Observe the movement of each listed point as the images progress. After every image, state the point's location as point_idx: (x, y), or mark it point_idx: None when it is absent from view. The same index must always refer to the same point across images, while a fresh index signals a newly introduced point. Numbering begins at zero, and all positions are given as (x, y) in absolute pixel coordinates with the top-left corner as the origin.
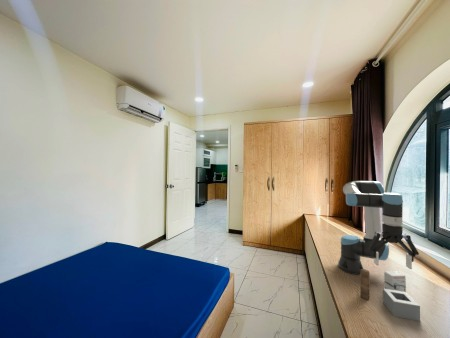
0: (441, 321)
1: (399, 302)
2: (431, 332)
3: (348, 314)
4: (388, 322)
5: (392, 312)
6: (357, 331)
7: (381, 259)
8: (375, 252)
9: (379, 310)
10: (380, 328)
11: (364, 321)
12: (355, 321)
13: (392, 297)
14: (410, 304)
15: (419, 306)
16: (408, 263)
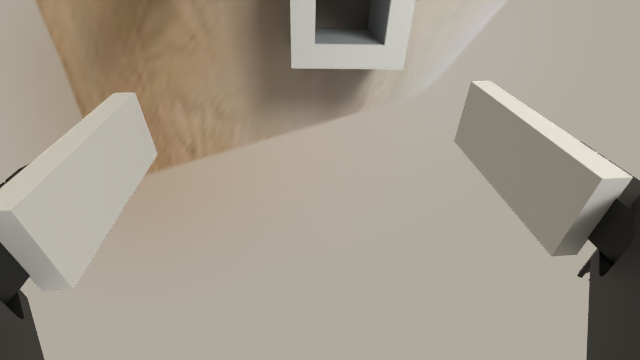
0: (475, 22)
1: (315, 68)
2: (379, 102)
3: (100, 98)
4: (250, 96)
5: (290, 36)
6: None
7: None
8: (24, 266)
9: (240, 24)
10: (210, 136)
11: (160, 119)
12: None
13: (300, 32)
14: (363, 68)
15: (399, 67)
16: (485, 149)
